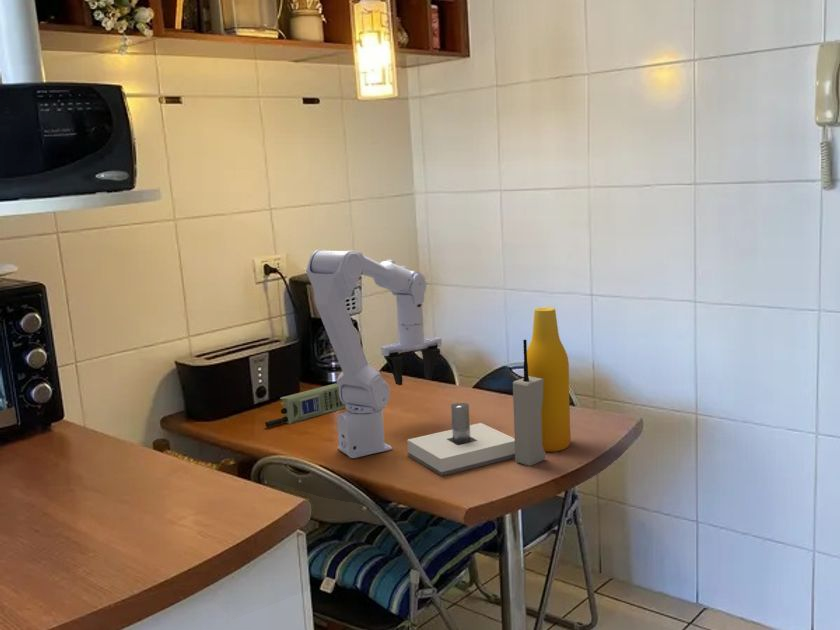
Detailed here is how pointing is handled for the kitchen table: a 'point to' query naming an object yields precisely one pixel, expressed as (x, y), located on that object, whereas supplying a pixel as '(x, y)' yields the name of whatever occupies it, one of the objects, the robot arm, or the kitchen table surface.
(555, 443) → the beer bottle
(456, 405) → the steel pin
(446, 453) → the grey hole plate
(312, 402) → the handheld radio
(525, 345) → the vintage mobile phone
